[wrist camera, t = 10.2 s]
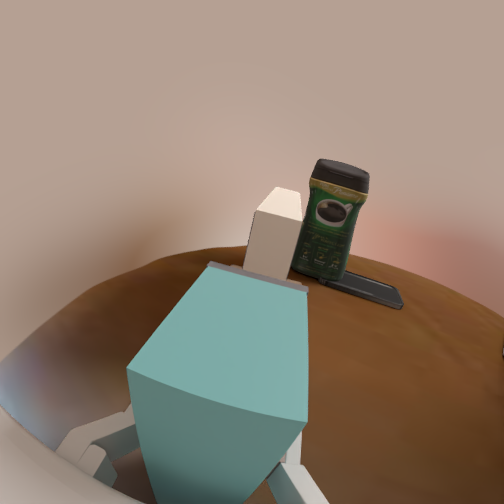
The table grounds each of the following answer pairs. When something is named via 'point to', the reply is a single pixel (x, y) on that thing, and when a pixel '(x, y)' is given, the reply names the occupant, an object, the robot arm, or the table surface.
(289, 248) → the stand
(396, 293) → the phone
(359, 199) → the coffee jar
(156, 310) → the table surface
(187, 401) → the teal rectangular block
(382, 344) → the table surface
